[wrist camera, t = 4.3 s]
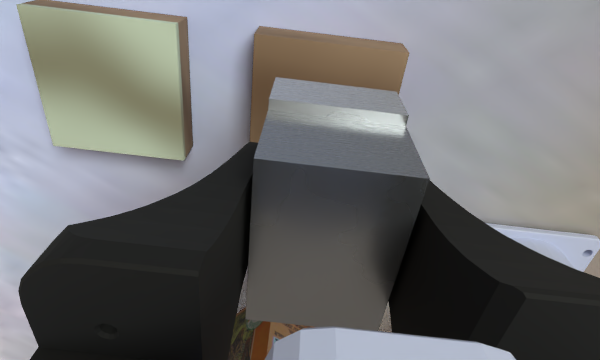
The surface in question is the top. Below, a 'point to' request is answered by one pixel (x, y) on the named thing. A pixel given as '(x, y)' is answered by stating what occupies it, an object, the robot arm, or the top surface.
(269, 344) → the orange food box
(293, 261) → the block
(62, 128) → the stand
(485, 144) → the top surface
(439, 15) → the top surface
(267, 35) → the stand
